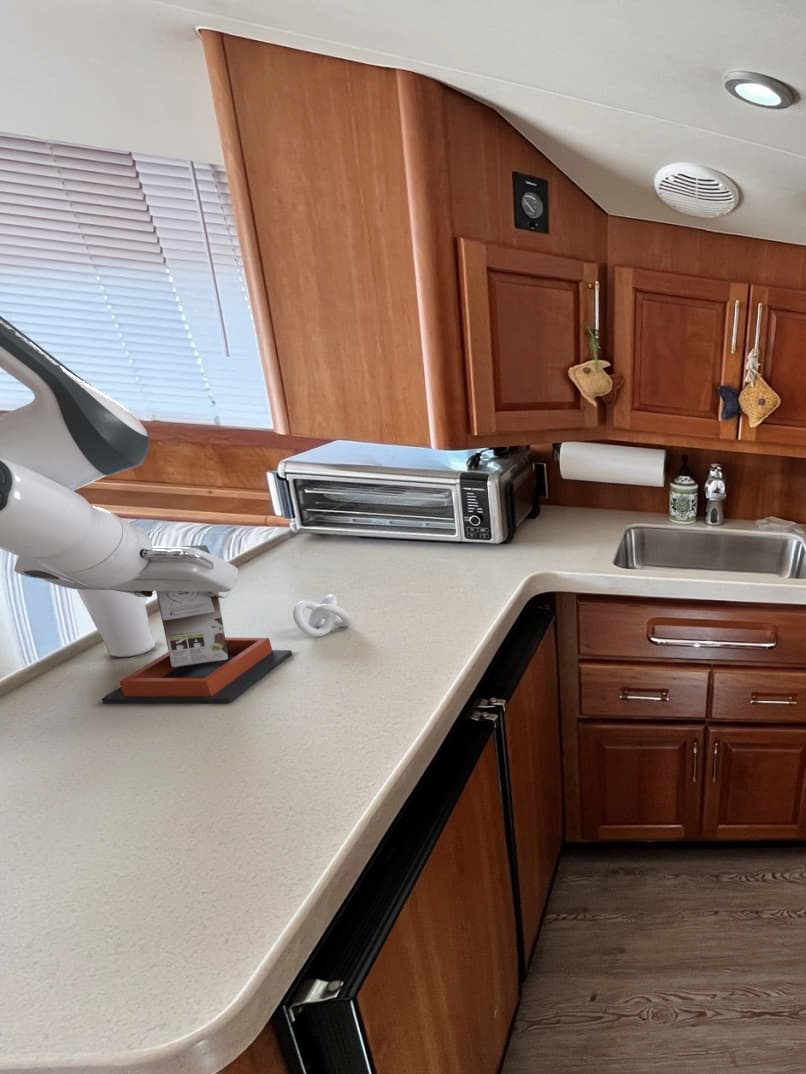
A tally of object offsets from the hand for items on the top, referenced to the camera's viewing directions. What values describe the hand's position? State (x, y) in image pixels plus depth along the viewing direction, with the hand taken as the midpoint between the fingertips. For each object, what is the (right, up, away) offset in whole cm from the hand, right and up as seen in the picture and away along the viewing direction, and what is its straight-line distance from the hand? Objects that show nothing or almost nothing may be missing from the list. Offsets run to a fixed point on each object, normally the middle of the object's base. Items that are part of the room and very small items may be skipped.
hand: (185, 592), depth 92 cm
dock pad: (-2, -13, +5) cm, 14 cm away
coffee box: (-2, -10, +4) cm, 11 cm away
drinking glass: (-18, -9, +10) cm, 23 cm away
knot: (+5, -7, +22) cm, 23 cm away
